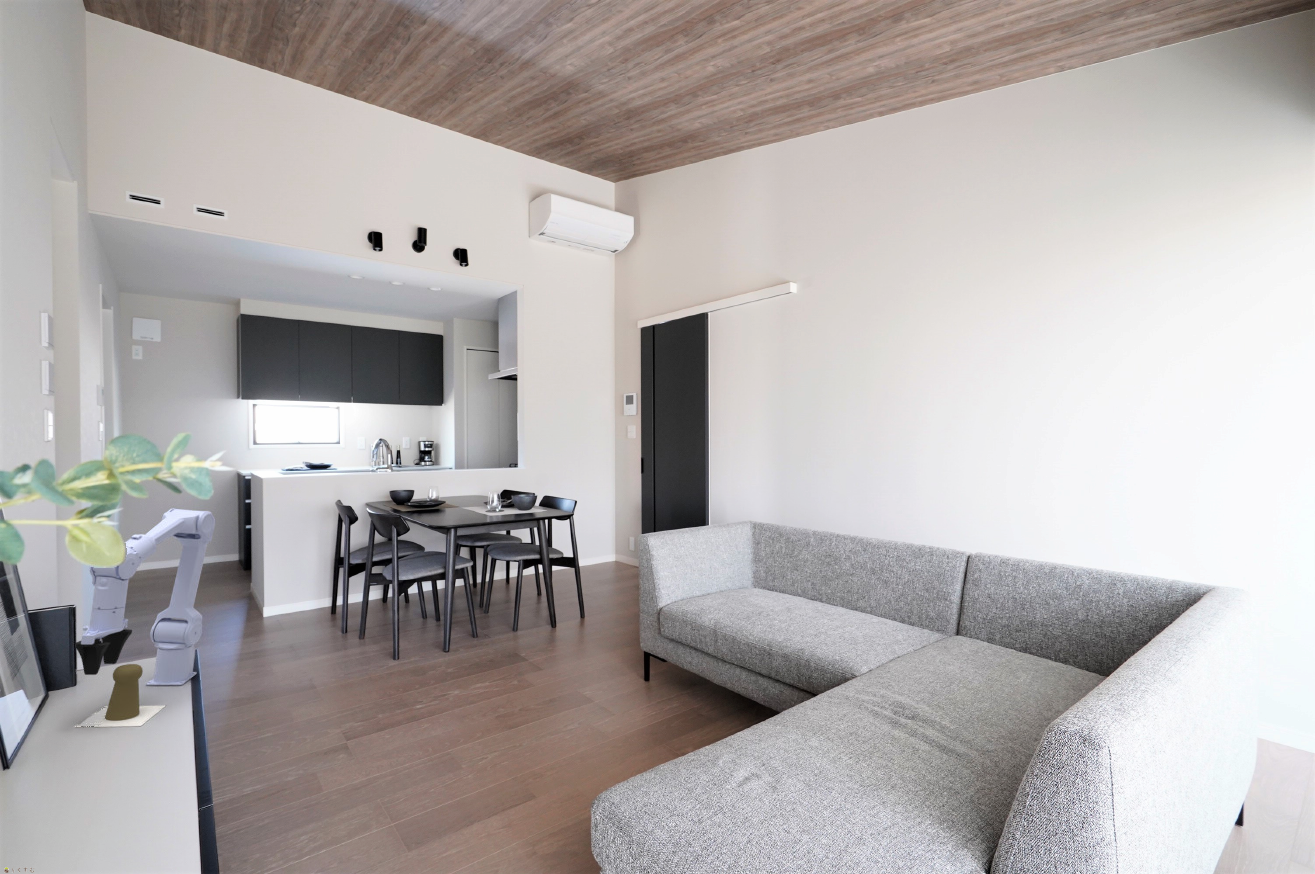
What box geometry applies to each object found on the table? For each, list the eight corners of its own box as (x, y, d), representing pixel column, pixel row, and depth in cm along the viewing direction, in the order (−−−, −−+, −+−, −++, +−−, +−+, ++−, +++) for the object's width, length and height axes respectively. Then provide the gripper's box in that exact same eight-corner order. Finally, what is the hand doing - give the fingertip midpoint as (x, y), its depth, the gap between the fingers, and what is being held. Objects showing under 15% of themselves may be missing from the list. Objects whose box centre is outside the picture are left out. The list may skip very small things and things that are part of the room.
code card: (105, 706, 150) (105, 705, 150) (165, 706, 153) (165, 705, 153) (74, 727, 139) (74, 726, 139) (140, 726, 142) (140, 725, 142)
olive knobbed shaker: (124, 721, 143) (130, 670, 144) (97, 719, 143) (104, 667, 144) (146, 711, 149) (152, 662, 150) (120, 709, 149) (126, 660, 150)
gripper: (105, 599, 152) (97, 658, 151) (67, 613, 138) (58, 679, 137) (141, 600, 154) (133, 659, 153) (107, 614, 140) (98, 679, 139)
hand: (100, 668), depth 145 cm, fingers open, 7 cm apart
